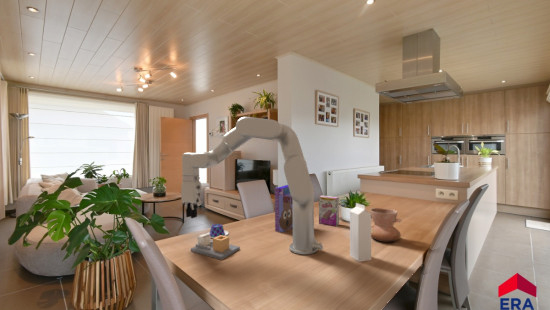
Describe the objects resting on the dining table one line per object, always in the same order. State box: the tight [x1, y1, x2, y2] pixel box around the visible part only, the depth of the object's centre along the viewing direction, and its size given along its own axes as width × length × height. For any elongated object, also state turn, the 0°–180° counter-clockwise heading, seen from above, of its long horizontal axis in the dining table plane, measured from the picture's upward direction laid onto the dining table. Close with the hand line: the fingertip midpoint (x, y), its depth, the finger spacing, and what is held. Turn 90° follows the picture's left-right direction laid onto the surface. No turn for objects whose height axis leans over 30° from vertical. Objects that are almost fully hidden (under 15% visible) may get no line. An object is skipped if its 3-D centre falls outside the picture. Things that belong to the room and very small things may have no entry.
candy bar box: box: [318, 195, 340, 227], centre depth 148 cm, size 11×5×16 cm, turn 58°
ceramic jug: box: [370, 207, 403, 243], centre depth 123 cm, size 18×14×14 cm
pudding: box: [205, 223, 230, 239], centre depth 132 cm, size 12×12×5 cm
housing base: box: [190, 239, 241, 260], centre depth 111 cm, size 18×12×5 cm, turn 60°
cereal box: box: [274, 184, 293, 234], centre depth 142 cm, size 17×5×24 cm, turn 148°
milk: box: [349, 202, 372, 263], centre depth 101 cm, size 6×6×22 cm
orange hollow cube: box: [212, 235, 230, 252], centre depth 109 cm, size 5×5×5 cm
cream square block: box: [197, 233, 211, 246], centre depth 115 cm, size 4×4×5 cm
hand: (191, 216), depth 118 cm, fingers open, 2 cm apart
